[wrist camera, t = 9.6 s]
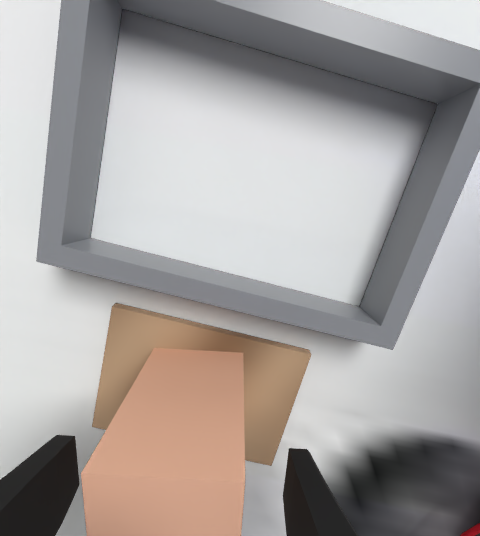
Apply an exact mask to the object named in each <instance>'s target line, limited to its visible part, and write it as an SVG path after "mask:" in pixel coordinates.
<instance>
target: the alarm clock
mask: <svg viewBox="0 0 480 536" xmlns="http://www.w3.org/2000/svg"><path fill="white" fill-rule="evenodd" d="M478 533H480V523H478V524H477V525H475V526H473V527H472V528H470V529H468V530H467V531H465V532H464V533H462V534H461V535H460V536H475V535H477V534H478Z"/></svg>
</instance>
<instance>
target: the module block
mask: <svg viewBox="0 0 480 536" xmlns="http://www.w3.org/2000/svg"><path fill="white" fill-rule="evenodd" d="M81 479H82V489H83V500H84V510H85V521H86V532H87V536H241V529H242V516H243V503H244V490H245V435H244V362H243V353H239V352H221V351H202V350H183V349H165V348H154V349H153V351H152V352H151V354H150V356H149V357H148V359H147V361H146V363H145V364H144V366H143V368H142V369H141V371H140V373H139V375H138V376H137V378H136V380H135V382H134V383H133V385H132V387H131V388H130V390H129V392H128V394H127V395H126V397H125V399H124V400H123V402H122V404H121V406H120V407H119V409H118V411H117V412H116V414H115V416H114V418H113V419H112V421H111V423H110V424H109V426H108V428H107V430H106V431H105V433H104V435H103V437H102V438H101V440H100V442H99V443H98V445H97V447H96V449H95V450H94V452H93V454H92V455H91V457H90V459H89V461H88V462H87V464H86V466H85V467H84V469H83V471H82V473H81Z"/></svg>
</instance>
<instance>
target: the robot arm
mask: <svg viewBox="0 0 480 536" xmlns="http://www.w3.org/2000/svg"><path fill="white" fill-rule="evenodd" d="M78 486H79V475H78V464H77V453H76V442H75V436H65V435H56V436H55V437H54V438H52V439H51V440H50V441H48V442H47V443H46V444H45V445H43V446H42V447H41V448H40V449H38V450H37V451H36V452H35V453H33V454H32V455H31V456H30V457H29V458H27V459H26V460H25V461H24V462H22V463H21V464H20V465H19V466H17V467H16V468H15V469H14V470H12V471H11V472H10V473H8V474H7V475H6V476H5V477H3V478H2V479H1V480H0V536H55V535H56V533H57V531H58V529H59V528H60V526H61V524H62V522H63V520H64V518H65V516H66V513H67V511H68V509H69V507H70V505H71V502H72V500H73V498H74V496H75V493H76V491H77V489H78ZM283 501H284V513H285V523H286V534H287V536H358V534H357V533H356V531H355V530H354V528H353V527H352V525H351V523H350V522H349V520H348V519H347V517H346V515H345V514H344V512H343V510H342V509H341V507H340V506H339V504H338V502H337V501H336V499H335V497H334V496H333V494H332V492H331V491H330V489H329V487H328V485H327V484H326V482H325V480H324V478H323V476H322V475H321V473H320V471H319V469H318V467H317V465H316V463H315V462H314V460H313V458H312V456H311V454H310V452H309V451H308V450H307V449H293V448H289V452H288V460H287V468H286V476H285V484H284V492H283Z"/></svg>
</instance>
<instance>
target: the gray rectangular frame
mask: <svg viewBox="0 0 480 536" xmlns="http://www.w3.org/2000/svg"><path fill="white" fill-rule="evenodd" d="M122 9H126V10H129V11H132V12H135V13H139V14H142V15H145V16H149V17H152V18H155V19H159V20H162V21H165V22H169V23H172V24H175V25H178V26H182V27H185V28H188V29H192V30H195V31H198V32H202V33H205V34H208V35H211V36H215V37H218V38H221V39H225V40H228V41H231V42H235V43H238V44H241V45H245V46H248V47H251V48H254V49H258V50H261V51H264V52H268V53H271V54H274V55H278V56H281V57H284V58H287V59H291V60H294V61H297V62H301V63H304V64H307V65H311V66H314V67H317V68H320V69H324V70H327V71H330V72H334V73H337V74H340V75H344V76H347V77H350V78H354V79H357V80H360V81H363V82H367V83H370V84H373V85H377V86H380V87H383V88H387V89H390V90H393V91H396V92H400V93H403V94H406V95H410V96H413V97H416V98H420V99H423V100H426V101H430V102H433V103H436V104H438V105H437V108H436V111H435V113H434V116H433V118H432V121H431V124H430V126H429V129H428V131H427V134H426V137H425V139H424V142H423V144H422V147H421V149H420V152H419V155H418V157H417V160H416V162H415V165H414V168H413V170H412V173H411V175H410V178H409V180H408V183H407V186H406V188H405V191H404V193H403V196H402V199H401V201H400V204H399V206H398V209H397V211H396V214H395V217H394V219H393V222H392V224H391V227H390V230H389V232H388V235H387V237H386V240H385V242H384V245H383V248H382V250H381V253H380V255H379V258H378V261H377V263H376V266H375V268H374V271H373V273H372V276H371V279H370V281H369V284H368V286H367V289H366V292H365V294H364V297H363V299H362V302H361V304H360V307H359V306H355V305H351V304H347V303H343V302H339V301H335V300H331V299H327V298H323V297H320V296H316V295H312V294H308V293H304V292H300V291H296V290H292V289H288V288H284V287H280V286H276V285H273V284H269V283H265V282H261V281H257V280H253V279H249V278H245V277H241V276H237V275H233V274H229V273H226V272H222V271H218V270H214V269H210V268H206V267H202V266H198V265H194V264H190V263H186V262H182V261H179V260H175V259H171V258H167V257H163V256H159V255H155V254H151V253H147V252H143V251H139V250H135V249H132V248H128V247H124V246H120V245H116V244H112V243H108V242H104V241H100V240H96V239H92V238H90V237H91V230H92V222H93V215H94V208H95V201H96V194H97V186H98V179H99V172H100V165H101V158H102V151H103V143H104V136H105V129H106V122H107V115H108V107H109V100H110V93H111V86H112V79H113V71H114V64H115V57H116V50H117V43H118V35H119V28H120V21H121V14H122ZM479 150H480V50H477V49H474V48H471V47H468V46H465V45H461V44H458V43H455V42H452V41H449V40H446V39H443V38H439V37H436V36H433V35H430V34H427V33H424V32H420V31H417V30H414V29H411V28H408V27H405V26H401V25H398V24H395V23H392V22H389V21H386V20H383V19H379V18H376V17H373V16H370V15H367V14H364V13H360V12H357V11H354V10H351V9H348V8H345V7H342V6H338V5H335V4H332V3H329V2H326V1H323V0H61V9H60V20H59V30H58V41H57V51H56V62H55V72H54V82H53V93H52V103H51V114H50V124H49V135H48V145H47V155H46V166H45V176H44V187H43V197H42V208H41V218H40V229H39V239H38V249H37V260H36V261H37V262H41V263H45V264H49V265H53V266H57V267H61V268H65V269H69V270H73V271H77V272H81V273H85V274H89V275H93V276H97V277H101V278H105V279H109V280H113V281H117V282H121V283H125V284H129V285H133V286H137V287H141V288H145V289H149V290H153V291H158V292H162V293H166V294H170V295H174V296H178V297H182V298H186V299H190V300H194V301H198V302H202V303H206V304H210V305H214V306H218V307H222V308H226V309H230V310H234V311H238V312H242V313H246V314H250V315H254V316H258V317H262V318H266V319H270V320H274V321H279V322H283V323H287V324H291V325H295V326H299V327H303V328H307V329H311V330H315V331H319V332H323V333H327V334H331V335H335V336H339V337H343V338H347V339H351V340H355V341H359V342H363V343H367V344H371V345H375V346H379V347H383V348H387V349H391V350H393V348H394V346H395V344H396V341H397V339H398V337H399V335H400V332H401V330H402V328H403V325H404V323H405V321H406V318H407V316H408V314H409V311H410V309H411V307H412V305H413V302H414V300H415V298H416V295H417V293H418V291H419V288H420V286H421V284H422V281H423V279H424V277H425V275H426V272H427V270H428V268H429V265H430V263H431V261H432V258H433V256H434V254H435V251H436V249H437V247H438V245H439V242H440V240H441V238H442V235H443V233H444V231H445V228H446V226H447V224H448V221H449V219H450V217H451V214H452V212H453V210H454V208H455V205H456V203H457V201H458V198H459V196H460V194H461V191H462V189H463V187H464V184H465V182H466V180H467V178H468V175H469V173H470V171H471V168H472V166H473V164H474V161H475V159H476V157H477V154H478V152H479Z"/></svg>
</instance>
